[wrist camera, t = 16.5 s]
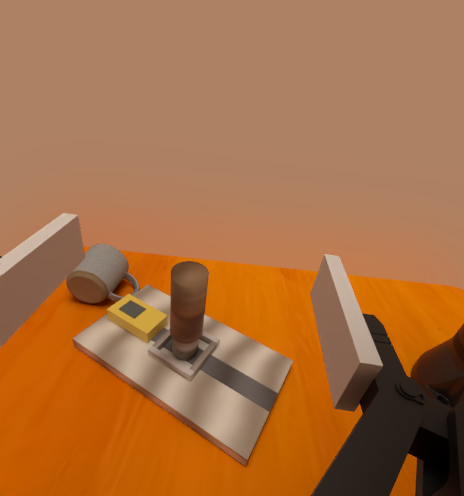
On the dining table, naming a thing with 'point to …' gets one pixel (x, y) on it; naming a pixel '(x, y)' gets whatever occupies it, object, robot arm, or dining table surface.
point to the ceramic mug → (100, 275)
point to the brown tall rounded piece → (187, 307)
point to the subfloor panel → (196, 375)
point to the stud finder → (137, 317)
